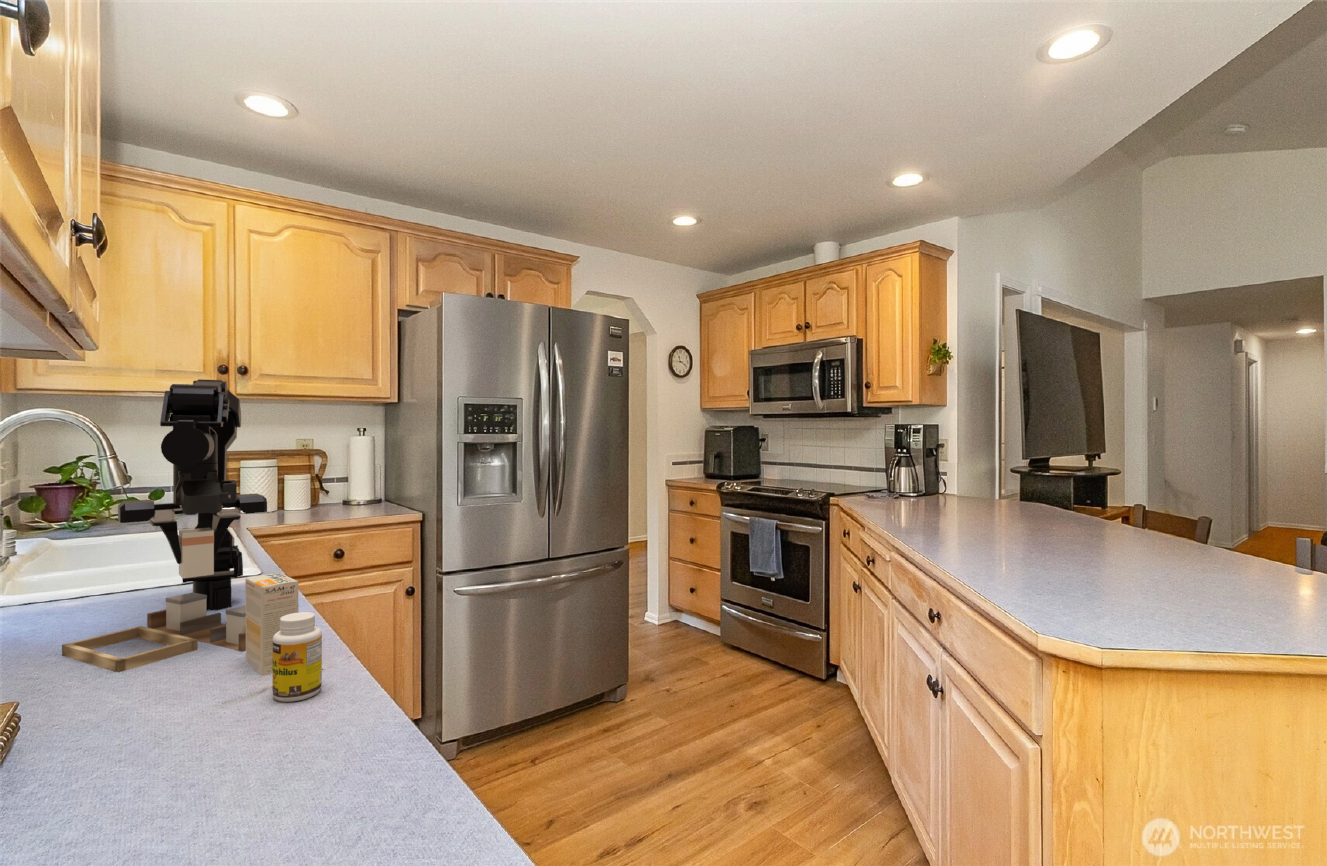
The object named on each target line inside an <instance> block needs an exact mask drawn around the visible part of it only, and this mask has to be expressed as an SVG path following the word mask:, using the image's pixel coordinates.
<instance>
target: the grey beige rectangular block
mask: <svg viewBox="0 0 1327 866" xmlns="http://www.w3.org/2000/svg"><path fill="white" fill-rule="evenodd" d="M206 599H207V595H203V594H198V593H193V591H192V592H189V593H184V594H183V593H182V594H179V595H174V596H169V597H165V609H166V628H168V629H173V630H177V631H180V622H183V621H187V620H191V619H195V618H199V617H203V616H207V610H206Z"/></svg>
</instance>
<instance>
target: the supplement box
mask: <svg viewBox="0 0 1327 866" xmlns="http://www.w3.org/2000/svg"><path fill="white" fill-rule="evenodd" d="M245 605H246V651H245V662H246V663H247V664H248V665H249V666H250V667H251V668H253V670H255V671H257V673H259V674H260V675H261V676H266V675H271V674H273V636H274V635H275V634H276V633H277V632H279V631H280V627H279V626H280V618H281V617H283V616H285V615H288V614H292V613H299V581H298V580H296V579H294V578H292V577H290V576H287V575H285V574H283V573H281V572H275V573H269V574H268V573H267V574H263V575H256V576H249V577H246V578H245Z"/></svg>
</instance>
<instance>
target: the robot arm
mask: <svg viewBox="0 0 1327 866" xmlns="http://www.w3.org/2000/svg"><path fill="white" fill-rule="evenodd" d="M164 391H165V392H164V395H163V400H162V401H163V403H162V407H161V415H160V416H161V417H160V421H159V422H160V423H159V424H160V427H172V430H171V431H169V432H167V434H166V435H165V436H164V437H163V439H162V441H161V444H160V451H161V454H162V455H163V457H164V459H165V460H166V461H167V462H169V463H170V464H172V468H173V469H172V472H173V474H172V475H173V477H172V478H173V479H172V483H173V485H172V486H173V487H172V490H173V492H172V495H173V496H172V498H173V499H172V500H173V501H172V502H171V503H169V502H168V503H155V502H154V501H153V500H152V499H141V500H140V499H139V500H125V501H124V500H123V501H121V502H120V503H118V506H117V520H118V521H119V523H120V524H129V523H140V522H141V523H142V522H143V523H144V522H148V521H149V522H148V523H149V524H150V525H151V526H152V527H159V528H160V529H161V531H162V533H163V535H164V536H165V537H166V540H167V542H168V544H169V547H170V550H171V552H172V554H173V556H174V559H175V561H176V563H177V565H179V564H181V550H180V544H179V537H178V535H179V530H178V521H177V520H175V519H174V518H175V515H187V516H195V515H197V525H196V526H195V527H194V529H199V528H211V529H212V530H214V575H206V576H198V577H190V578H182V577H181V579H182V583H183V584H185V583H192V592H193V593H198V594H203V595H207V599H206V611H220V610H224V609H225V610H226V609H230V608H232V607H233V605H232V603H233V602H232V598H233V597H232V594H233V593H232V592H233V591H232V579H233V578H234V579H237V578H239V577H243V576H244V561H243V560H244V559H243V553H242V551H241V550H240V548H239V546H238V545H235V538H234V536H233V534H232V533H231V531H230V530H229V527H230V526H231V525H232V523H233V522H234V521H237V520H241V515H239V513H240V511H242V513H244V514H246V515H248V514H250V515H251V514H261V513H268V500H267V497H265V496H264V495H263V494H260V493H244V494H238V492H237V488H238V485H237V482H236V480H235V479H227V465H228V464H227V462H228V461H227V460H228V456H227V455H228V450H229V448H230V447H231V446H232V444H233V443H234V441H235V440H236V439H237V437H238V436H237V435H238V428H241V427H242V410H241V402H240V401H241V400H240V399H239V398H238V397H237V396H236V395H235V394H234V393H232V392H231V391H230V390H229V389H228V382H227V381H223V380H222V379H201V378H198V379H197V380H193V381H192V384H189V383H187V384H185V383H172V384H171V385H170V386H169V390H164ZM231 569H233V570H231Z"/></svg>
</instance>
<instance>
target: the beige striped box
mask: <svg viewBox="0 0 1327 866" xmlns="http://www.w3.org/2000/svg"><path fill="white" fill-rule="evenodd" d="M178 537H179V544H180V550H181V564H178V575H179V576H180V577H181V579H182V578H190V577H198V576H206V575H214V530H212V529H211V528H199V529H195V528H189V529H179V530H178Z"/></svg>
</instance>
